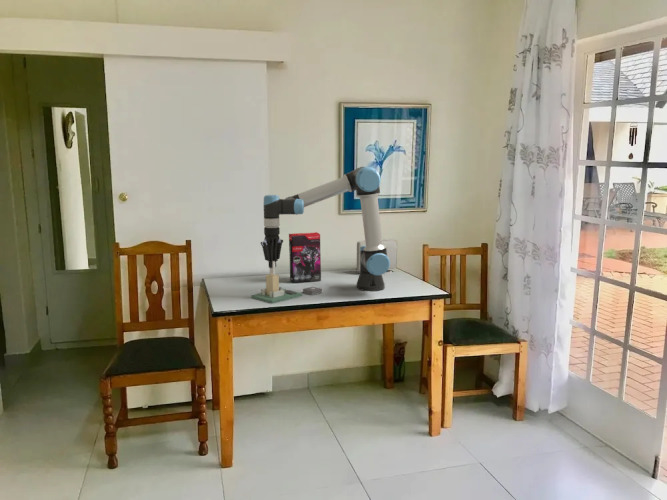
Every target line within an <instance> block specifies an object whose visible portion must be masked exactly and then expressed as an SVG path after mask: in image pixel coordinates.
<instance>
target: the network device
mask: <svg viewBox="0 0 667 500" xmlns="http://www.w3.org/2000/svg"><path fill="white" fill-rule="evenodd" d="M382 241H383V244H384V245H385V246H386V250H387V257H388V258H389V260H390V267H389V269H388V271H387V272H386V273H387V274H392V273H393V271H392V270H396V269H397V267H398V266H397V264H398V240H397V239H395V238H387V239H384V238H382ZM356 242H357V243H356V271H358V272H360V248H361V246H366V242H365V240H359V241H356ZM383 275H386V274H385V273H384V274H383Z"/></svg>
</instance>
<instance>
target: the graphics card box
mask: <svg viewBox="0 0 667 500" xmlns="http://www.w3.org/2000/svg"><path fill="white" fill-rule="evenodd" d="M288 248H289V249H288V250H289V280H290V282H291V283H292V284H293V283H294V284H297V283H305V282H319V281H320V282H321V281H322V267H321V266H322V265H321V264H322V262H321V234H320V233H319V232H317V231H316V232H315V231H314V232H299V233H295V232H294V233H288Z"/></svg>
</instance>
